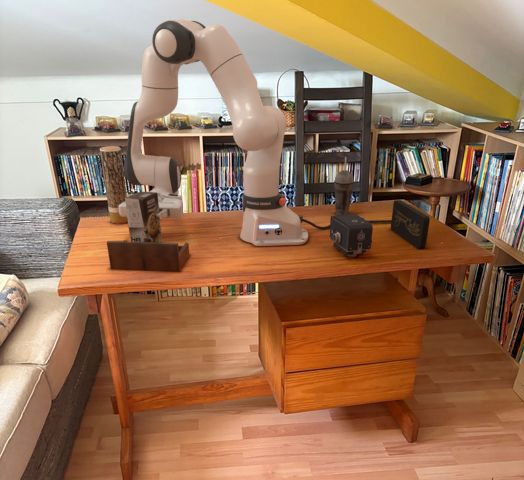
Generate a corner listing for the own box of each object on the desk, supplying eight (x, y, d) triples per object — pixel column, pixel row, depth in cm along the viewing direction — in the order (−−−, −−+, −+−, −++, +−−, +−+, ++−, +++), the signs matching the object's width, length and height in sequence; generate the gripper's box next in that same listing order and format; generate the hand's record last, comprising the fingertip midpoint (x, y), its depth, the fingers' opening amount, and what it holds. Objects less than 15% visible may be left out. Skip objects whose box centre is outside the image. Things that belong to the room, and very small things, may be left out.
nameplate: (390, 228, 184) (393, 199, 179) (395, 228, 184) (399, 199, 179) (419, 249, 167) (424, 217, 162) (425, 249, 167) (430, 217, 162)
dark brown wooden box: (189, 255, 163) (187, 229, 159) (179, 271, 152) (177, 244, 148) (125, 252, 165) (121, 227, 161) (110, 269, 153) (106, 242, 149)
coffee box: (148, 252, 165) (142, 199, 157) (130, 249, 167) (123, 197, 159) (163, 242, 173) (158, 192, 164) (146, 240, 175) (140, 190, 166)
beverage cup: (331, 216, 197) (335, 159, 187) (332, 210, 203) (336, 155, 193) (351, 216, 196) (356, 159, 186) (351, 211, 202) (356, 155, 192)
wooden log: (132, 218, 195) (123, 146, 182) (126, 224, 189) (116, 150, 176) (114, 218, 195) (103, 146, 183) (107, 224, 190) (96, 149, 177)
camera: (374, 261, 161) (351, 240, 172) (380, 225, 154) (356, 206, 166) (342, 265, 158) (321, 244, 169) (347, 229, 151) (325, 209, 163)
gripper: (124, 193, 176) (110, 205, 164) (186, 195, 175) (176, 207, 163) (127, 212, 180) (113, 225, 168) (187, 214, 178) (177, 227, 166)
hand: (144, 216), depth 165 cm, fingers closed on coffee box, 7 cm apart
